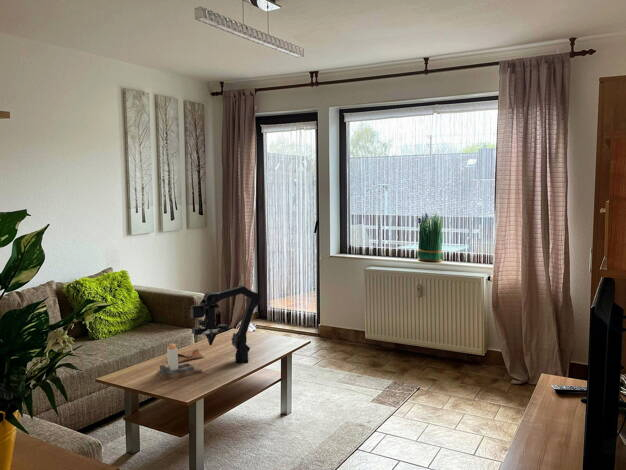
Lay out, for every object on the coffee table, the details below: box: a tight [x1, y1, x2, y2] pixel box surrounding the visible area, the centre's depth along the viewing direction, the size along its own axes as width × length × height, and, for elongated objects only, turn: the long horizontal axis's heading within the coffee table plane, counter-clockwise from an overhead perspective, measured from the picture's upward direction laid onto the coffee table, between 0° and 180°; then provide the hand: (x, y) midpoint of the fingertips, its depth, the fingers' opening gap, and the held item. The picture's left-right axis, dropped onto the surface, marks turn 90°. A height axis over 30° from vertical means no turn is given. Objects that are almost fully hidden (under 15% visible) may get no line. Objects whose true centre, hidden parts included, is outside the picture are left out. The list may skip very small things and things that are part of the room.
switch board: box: [157, 362, 203, 381], centre depth 280 cm, size 20×12×4 cm, turn 120°
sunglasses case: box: [178, 349, 205, 365], centre depth 302 cm, size 18×7×7 cm, turn 130°
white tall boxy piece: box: [166, 343, 179, 371], centre depth 278 cm, size 4×5×14 cm
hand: (210, 345), depth 288 cm, fingers closed
